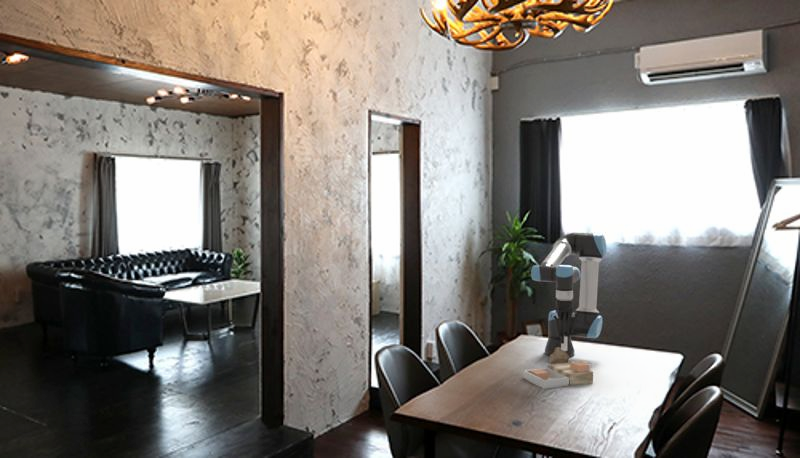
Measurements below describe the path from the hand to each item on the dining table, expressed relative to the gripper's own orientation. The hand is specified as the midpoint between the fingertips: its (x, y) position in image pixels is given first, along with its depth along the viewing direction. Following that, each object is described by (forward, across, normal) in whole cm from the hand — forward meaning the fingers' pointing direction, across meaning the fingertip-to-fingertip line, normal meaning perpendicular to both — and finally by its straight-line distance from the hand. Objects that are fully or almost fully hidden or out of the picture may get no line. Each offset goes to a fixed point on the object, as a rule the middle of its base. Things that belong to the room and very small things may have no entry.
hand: (564, 350), depth 263 cm
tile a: (+8, -14, -1) cm, 16 cm away
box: (+12, -13, -5) cm, 18 cm away
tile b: (+7, +2, -8) cm, 11 cm away
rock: (+13, +3, +11) cm, 17 cm away
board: (+12, 0, -5) cm, 13 cm away
